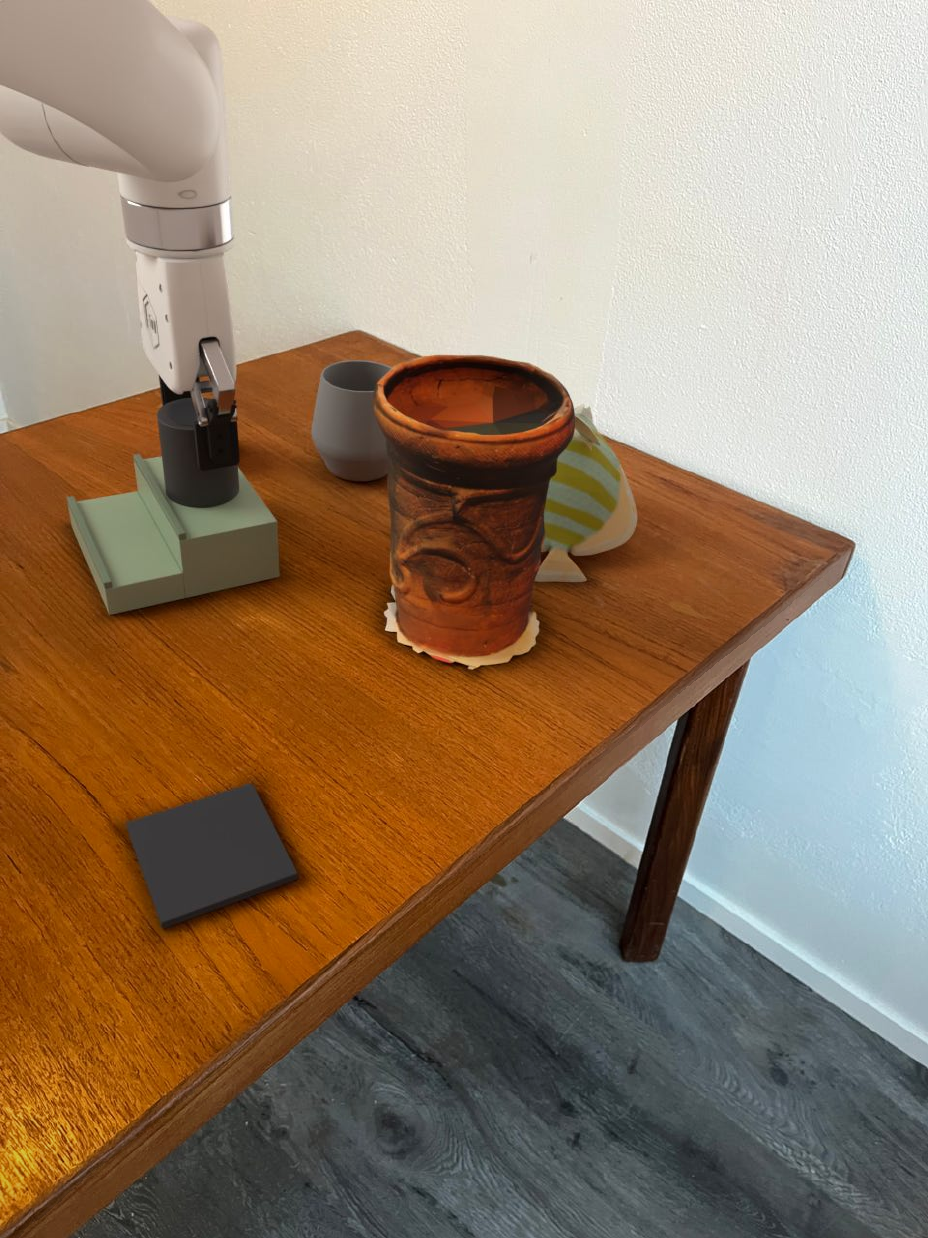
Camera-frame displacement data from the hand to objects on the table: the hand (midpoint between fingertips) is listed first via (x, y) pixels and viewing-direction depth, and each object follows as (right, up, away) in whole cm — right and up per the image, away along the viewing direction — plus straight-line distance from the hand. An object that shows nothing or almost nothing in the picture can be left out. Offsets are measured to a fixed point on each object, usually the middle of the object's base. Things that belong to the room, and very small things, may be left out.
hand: (200, 439), depth 80 cm
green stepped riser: (-4, -9, +4) cm, 11 cm away
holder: (0, -4, +2) cm, 5 cm away
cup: (+11, 0, +19) cm, 22 cm away
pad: (+6, -29, -21) cm, 36 cm away
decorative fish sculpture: (+30, -6, +13) cm, 33 cm away
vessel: (+21, -15, 0) cm, 26 cm away
